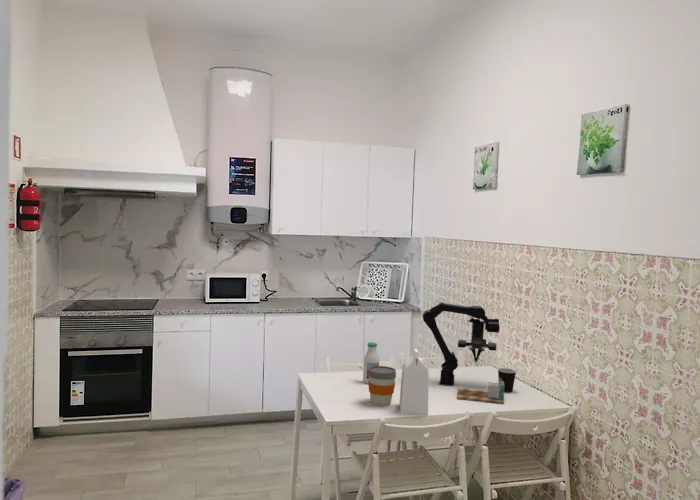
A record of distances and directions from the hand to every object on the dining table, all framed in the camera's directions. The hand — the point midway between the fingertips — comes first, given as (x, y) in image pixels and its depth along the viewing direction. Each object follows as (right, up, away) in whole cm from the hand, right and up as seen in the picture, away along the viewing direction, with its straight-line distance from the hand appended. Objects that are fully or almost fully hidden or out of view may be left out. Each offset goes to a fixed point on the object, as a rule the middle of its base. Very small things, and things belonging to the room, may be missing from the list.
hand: (476, 362), depth 284 cm
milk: (-36, -13, -39) cm, 55 cm away
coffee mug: (+14, -13, -4) cm, 19 cm away
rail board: (-2, -13, -19) cm, 23 cm away
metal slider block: (+4, -12, -20) cm, 24 cm away
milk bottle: (-53, -10, -2) cm, 54 cm away
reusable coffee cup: (-50, -12, -32) cm, 60 cm away
